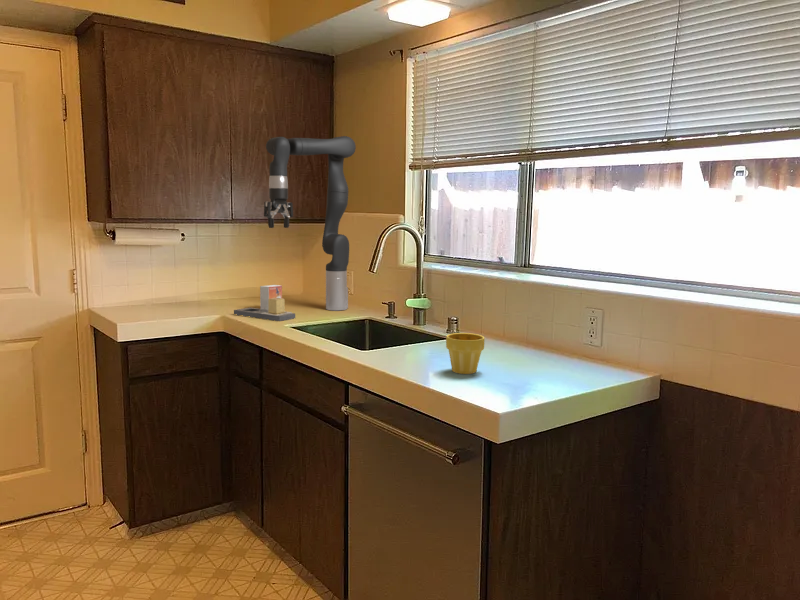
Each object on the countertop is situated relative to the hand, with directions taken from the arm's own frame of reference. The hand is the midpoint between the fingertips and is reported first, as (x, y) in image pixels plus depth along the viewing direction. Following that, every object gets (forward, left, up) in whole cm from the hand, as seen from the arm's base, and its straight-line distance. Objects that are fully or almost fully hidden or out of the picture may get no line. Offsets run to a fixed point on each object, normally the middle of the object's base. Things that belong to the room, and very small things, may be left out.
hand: (278, 227), depth 264 cm
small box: (-9, -14, -36) cm, 40 cm away
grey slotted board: (+7, -2, -36) cm, 37 cm away
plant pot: (+39, +108, -36) cm, 120 cm away
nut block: (+7, +5, -36) cm, 37 cm away
